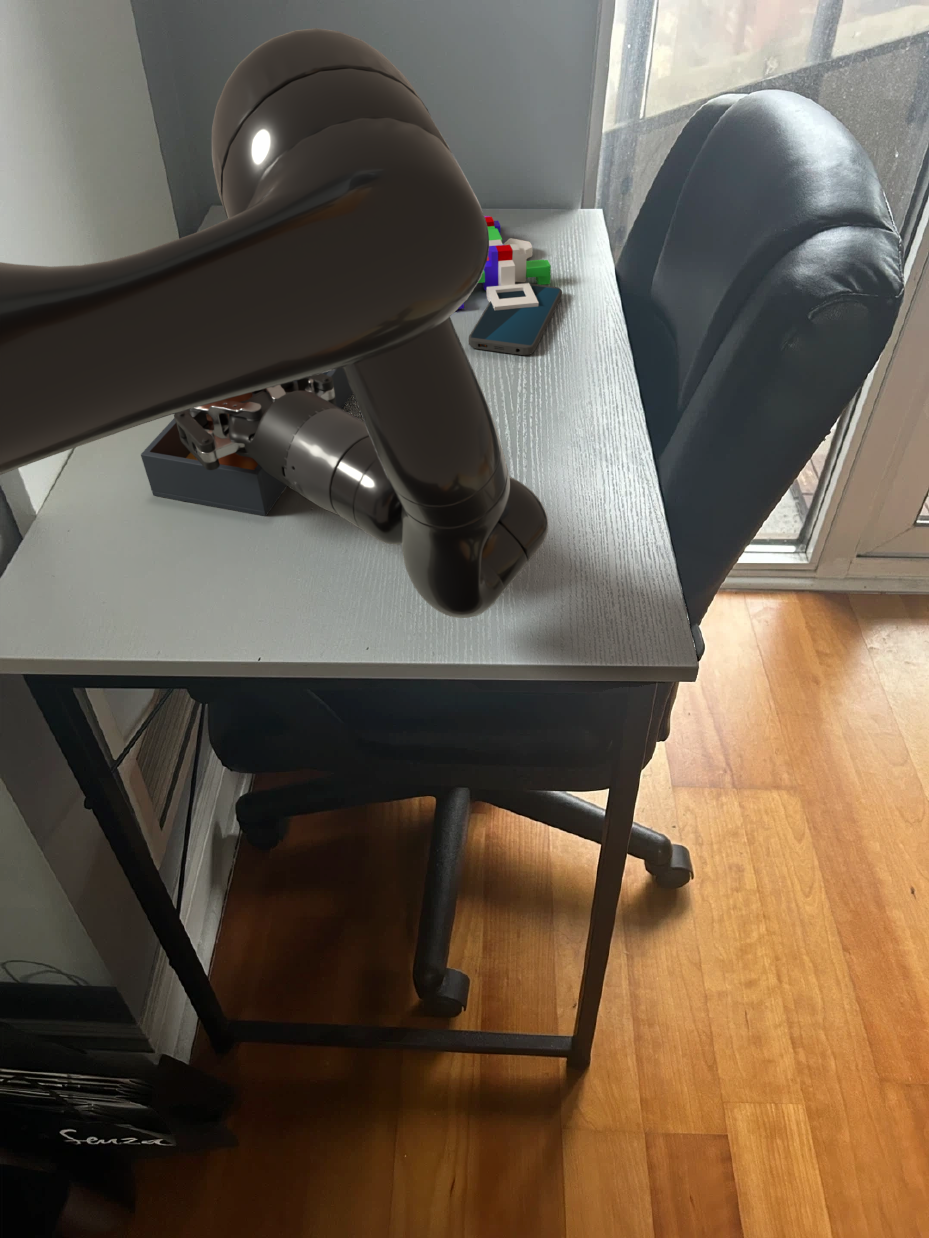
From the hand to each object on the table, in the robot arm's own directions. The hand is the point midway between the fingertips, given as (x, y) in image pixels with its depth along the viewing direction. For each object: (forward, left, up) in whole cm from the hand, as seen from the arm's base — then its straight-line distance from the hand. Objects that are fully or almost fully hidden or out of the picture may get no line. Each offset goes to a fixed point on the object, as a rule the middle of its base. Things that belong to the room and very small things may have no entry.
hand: (203, 381), depth 83 cm
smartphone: (+33, -20, -8) cm, 40 cm away
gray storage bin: (+9, -2, -8) cm, 13 cm away
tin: (-1, -2, -7) cm, 7 cm away
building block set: (+43, -10, -8) cm, 45 cm away
